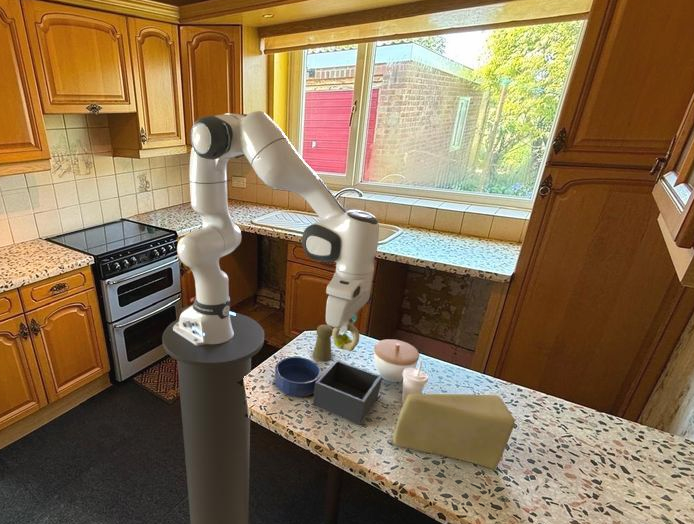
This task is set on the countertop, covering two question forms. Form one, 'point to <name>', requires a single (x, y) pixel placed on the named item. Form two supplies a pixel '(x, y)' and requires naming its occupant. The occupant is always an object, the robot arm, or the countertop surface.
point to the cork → (323, 343)
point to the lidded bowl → (394, 358)
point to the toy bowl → (297, 376)
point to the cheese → (455, 426)
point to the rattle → (346, 336)
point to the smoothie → (413, 381)
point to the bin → (347, 391)
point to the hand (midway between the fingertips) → (346, 328)
